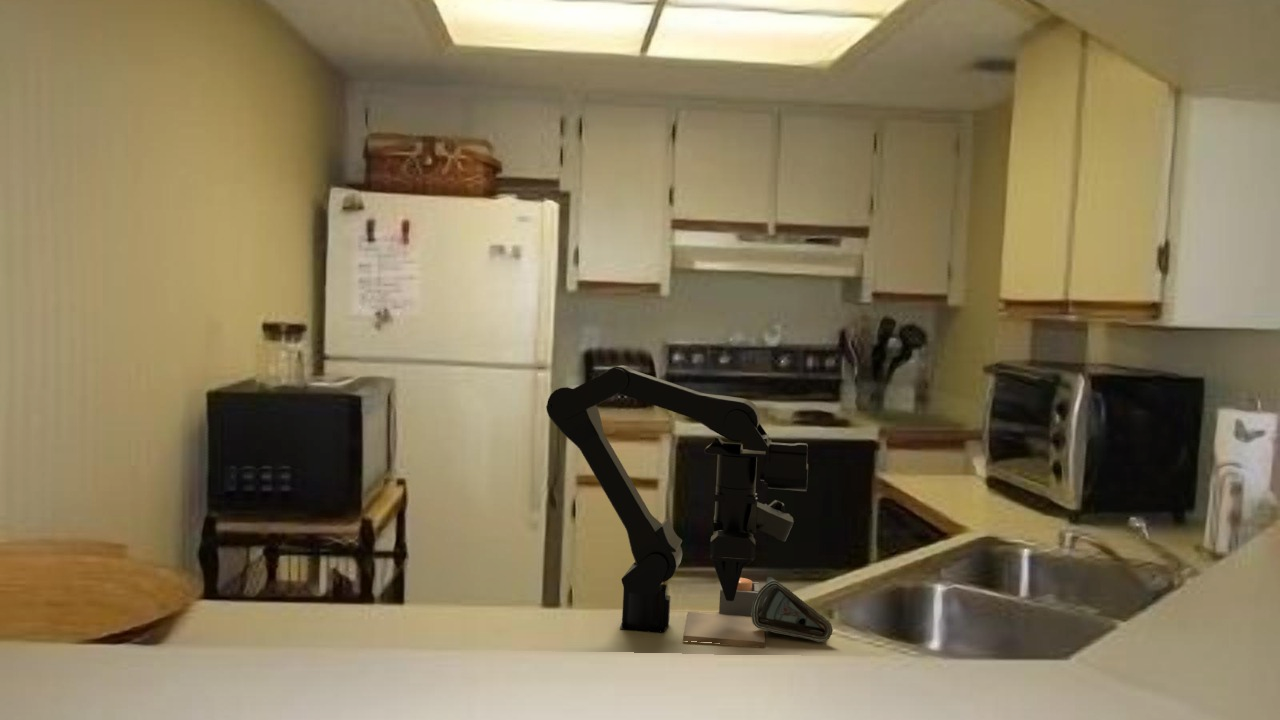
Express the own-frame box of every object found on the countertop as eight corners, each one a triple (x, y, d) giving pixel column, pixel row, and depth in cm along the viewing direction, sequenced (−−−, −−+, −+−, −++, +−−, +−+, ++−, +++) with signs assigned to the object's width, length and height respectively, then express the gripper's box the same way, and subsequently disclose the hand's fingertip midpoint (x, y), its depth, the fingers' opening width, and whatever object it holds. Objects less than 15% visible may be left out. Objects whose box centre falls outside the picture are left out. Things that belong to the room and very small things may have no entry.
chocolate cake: (842, 634, 145) (795, 566, 150) (837, 633, 138) (789, 561, 143) (789, 670, 145) (745, 601, 150) (782, 670, 139) (736, 598, 144)
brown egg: (726, 611, 152) (727, 583, 152) (726, 603, 156) (728, 576, 155) (750, 613, 152) (752, 585, 151) (750, 605, 155) (752, 578, 155)
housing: (718, 615, 151) (720, 590, 151) (719, 603, 157) (721, 579, 157) (757, 618, 150) (759, 593, 150) (757, 606, 156) (758, 582, 156)
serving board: (682, 642, 138) (683, 635, 138) (687, 618, 149) (687, 611, 149) (764, 649, 137) (764, 642, 137) (763, 624, 148) (763, 617, 148)
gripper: (795, 501, 132) (788, 615, 132) (788, 478, 150) (783, 578, 151) (712, 496, 133) (706, 609, 134) (716, 473, 151) (711, 572, 152)
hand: (730, 591), depth 143 cm, fingers open, 9 cm apart
